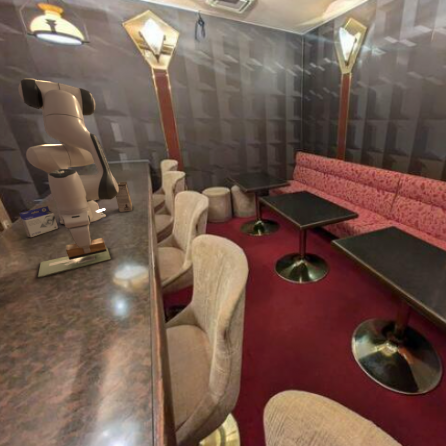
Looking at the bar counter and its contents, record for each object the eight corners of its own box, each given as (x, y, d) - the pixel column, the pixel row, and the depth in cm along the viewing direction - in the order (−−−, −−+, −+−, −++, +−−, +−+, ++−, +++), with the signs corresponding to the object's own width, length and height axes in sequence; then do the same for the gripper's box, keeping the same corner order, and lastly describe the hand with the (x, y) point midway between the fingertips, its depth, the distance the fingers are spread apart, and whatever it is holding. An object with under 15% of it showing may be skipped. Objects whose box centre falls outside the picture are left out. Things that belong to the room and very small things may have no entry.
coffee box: (120, 207, 152) (113, 182, 146) (132, 206, 155) (126, 181, 149) (119, 212, 145) (112, 185, 139) (132, 210, 148) (126, 184, 142)
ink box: (31, 237, 110) (21, 213, 106) (27, 237, 111) (17, 213, 107) (59, 228, 121) (51, 206, 117) (55, 227, 121) (47, 205, 117)
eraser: (69, 254, 93) (66, 245, 92) (105, 246, 100) (102, 237, 99) (69, 259, 90) (66, 250, 88) (106, 251, 97) (104, 242, 95)
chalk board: (41, 263, 91) (40, 262, 91) (107, 248, 104) (107, 247, 104) (38, 277, 83) (37, 276, 83) (110, 259, 96) (110, 258, 95)
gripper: (64, 209, 95) (75, 241, 100) (64, 225, 80) (77, 262, 85) (85, 206, 98) (95, 237, 104) (89, 221, 84) (99, 256, 89)
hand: (87, 249), depth 94 cm, fingers closed on eraser, 5 cm apart
